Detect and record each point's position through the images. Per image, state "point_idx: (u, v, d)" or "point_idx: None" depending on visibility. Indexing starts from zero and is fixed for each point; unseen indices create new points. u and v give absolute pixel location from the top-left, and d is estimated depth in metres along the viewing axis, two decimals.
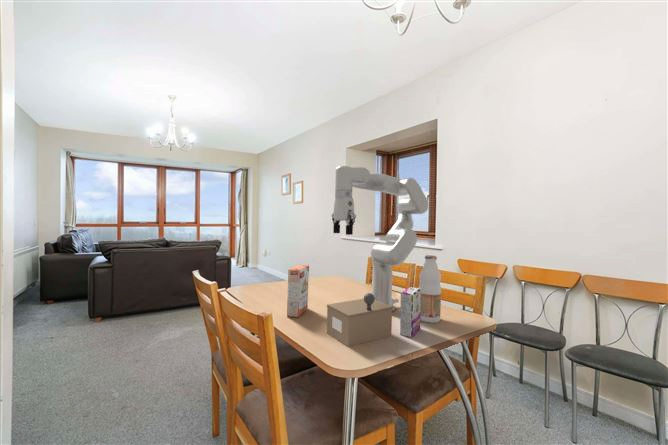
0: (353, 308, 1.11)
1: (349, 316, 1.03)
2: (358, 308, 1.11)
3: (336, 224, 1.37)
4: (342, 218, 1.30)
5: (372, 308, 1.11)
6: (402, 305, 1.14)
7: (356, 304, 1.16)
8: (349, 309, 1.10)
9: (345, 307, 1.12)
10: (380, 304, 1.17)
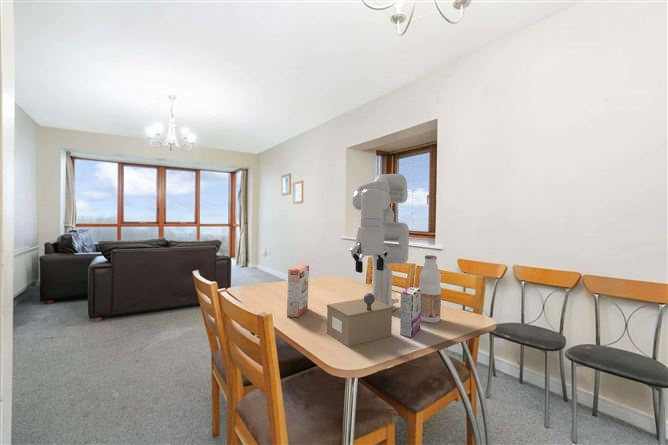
0: (353, 308, 1.11)
1: (349, 316, 1.03)
2: (358, 308, 1.11)
3: None
4: (379, 252, 1.09)
5: (372, 308, 1.11)
6: (402, 305, 1.14)
7: (356, 304, 1.16)
8: (349, 309, 1.10)
9: (345, 307, 1.12)
10: (380, 304, 1.17)
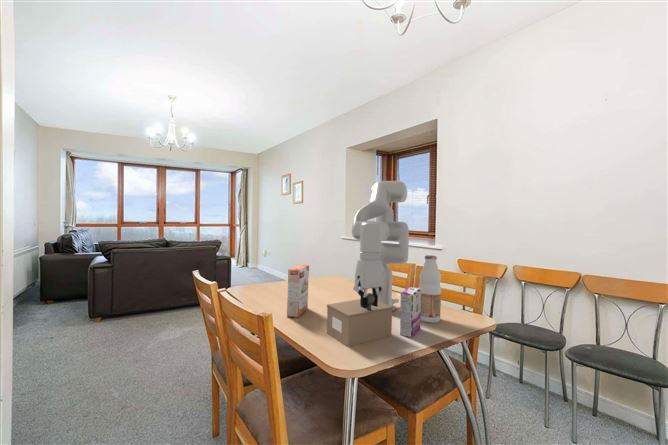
0: (353, 308, 1.11)
1: (349, 316, 1.03)
2: (358, 308, 1.11)
3: None
4: (378, 285, 1.09)
5: (372, 308, 1.11)
6: (402, 305, 1.14)
7: (356, 304, 1.16)
8: (349, 309, 1.10)
9: (345, 307, 1.12)
10: (380, 304, 1.17)
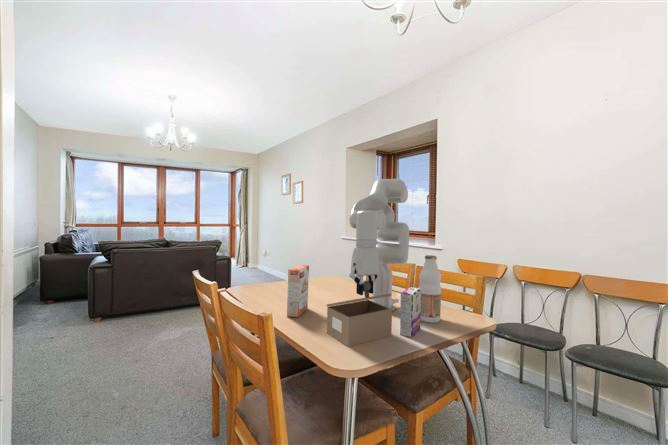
0: None
1: (348, 301, 1.04)
2: None
3: None
4: (374, 272, 1.11)
5: None
6: (402, 305, 1.14)
7: None
8: None
9: None
10: None
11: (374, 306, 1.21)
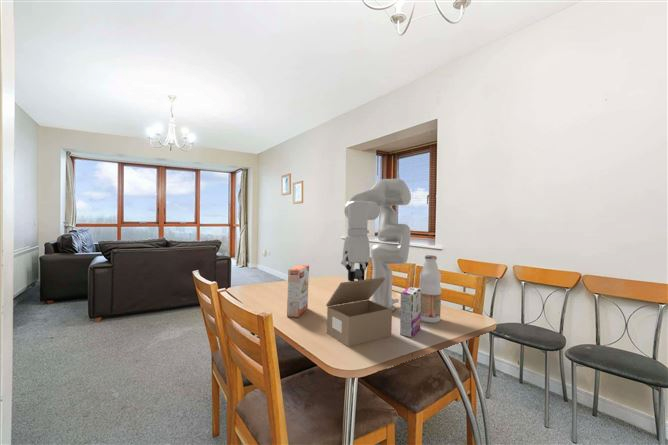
0: None
1: (342, 283, 1.07)
2: None
3: None
4: (365, 260, 1.16)
5: None
6: (402, 305, 1.14)
7: None
8: None
9: None
10: None
11: (374, 306, 1.21)
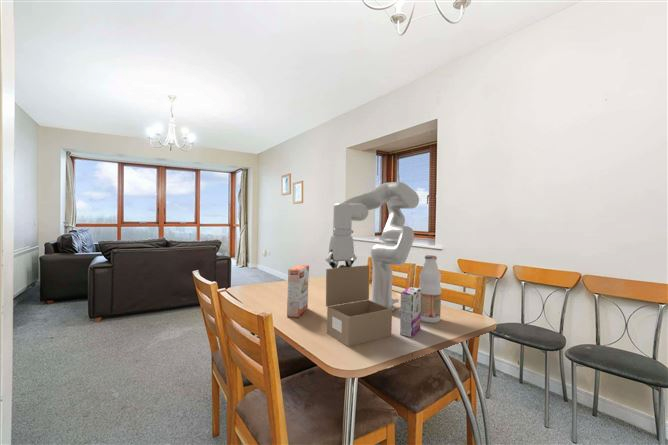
0: None
1: (327, 269, 1.15)
2: None
3: None
4: (349, 258, 1.25)
5: None
6: (402, 305, 1.14)
7: None
8: None
9: None
10: None
11: (374, 306, 1.21)
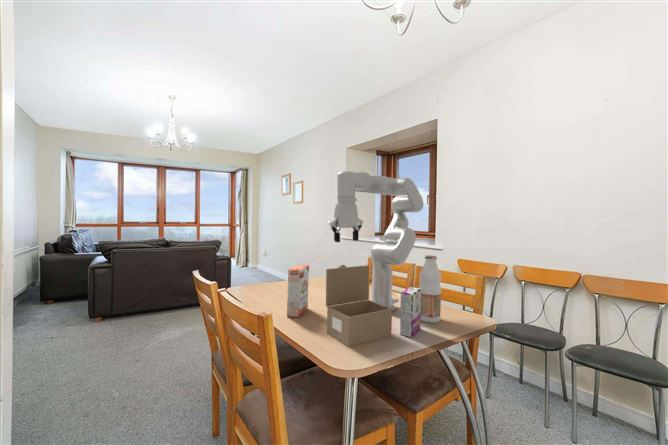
0: None
1: (327, 269, 1.15)
2: None
3: None
4: (354, 225, 1.29)
5: None
6: (402, 305, 1.14)
7: None
8: None
9: None
10: None
11: (374, 306, 1.21)
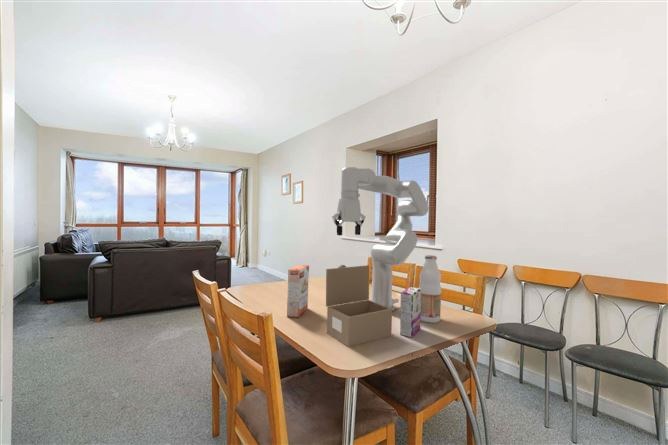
0: None
1: (327, 269, 1.15)
2: None
3: None
4: (356, 219, 1.32)
5: None
6: (402, 305, 1.14)
7: None
8: None
9: None
10: None
11: (374, 306, 1.21)
